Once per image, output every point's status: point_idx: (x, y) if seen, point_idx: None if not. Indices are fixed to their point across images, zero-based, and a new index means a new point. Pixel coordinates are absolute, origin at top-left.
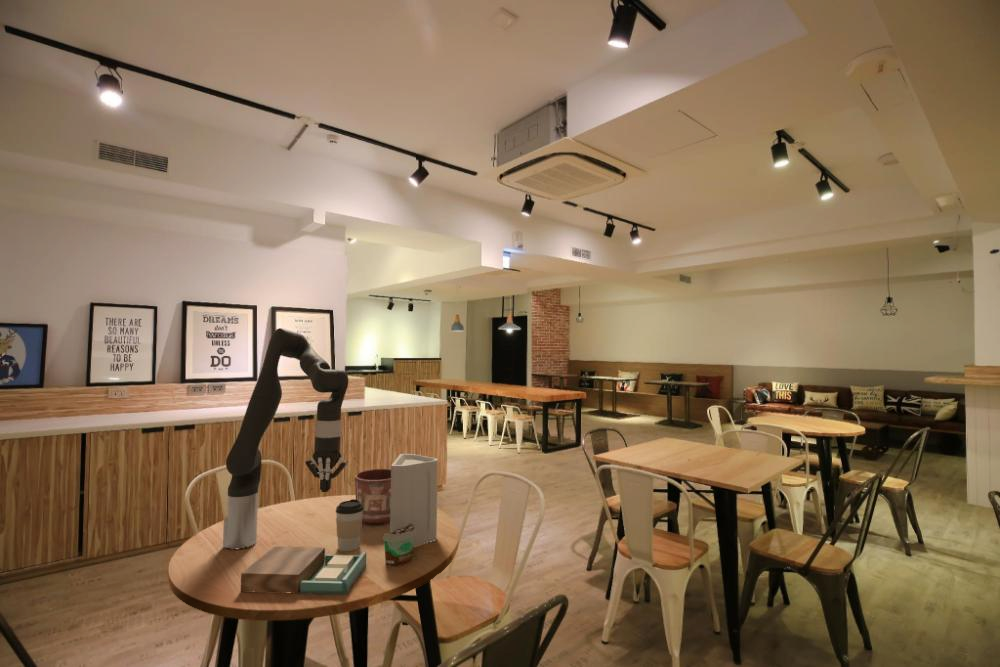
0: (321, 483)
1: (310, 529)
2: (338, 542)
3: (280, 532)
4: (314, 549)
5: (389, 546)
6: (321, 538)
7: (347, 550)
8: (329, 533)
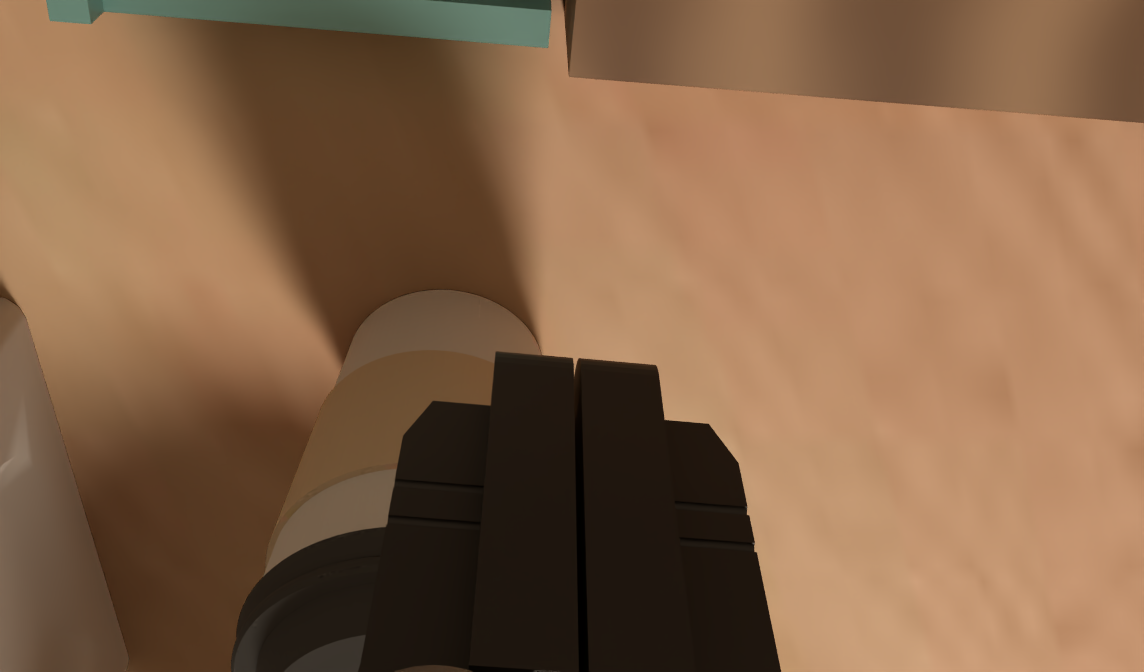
0: (705, 588)
1: (880, 668)
2: None
3: (1116, 623)
4: (683, 25)
5: None
6: None
7: (426, 293)
8: None
